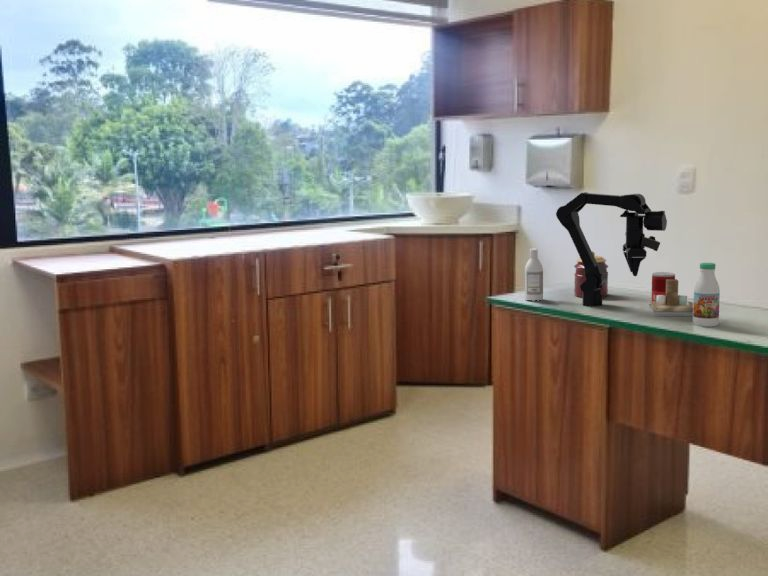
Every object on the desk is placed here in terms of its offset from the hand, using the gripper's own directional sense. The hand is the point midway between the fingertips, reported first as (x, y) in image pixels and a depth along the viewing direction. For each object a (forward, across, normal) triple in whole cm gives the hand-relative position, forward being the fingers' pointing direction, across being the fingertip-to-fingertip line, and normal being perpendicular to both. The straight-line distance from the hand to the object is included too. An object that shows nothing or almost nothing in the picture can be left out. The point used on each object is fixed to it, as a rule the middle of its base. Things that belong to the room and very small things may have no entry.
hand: (633, 274), depth 272 cm
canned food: (+13, +14, -12) cm, 23 cm away
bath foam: (+13, +19, +35) cm, 42 cm away
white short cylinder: (+10, -6, -9) cm, 14 cm away
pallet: (+11, -6, -12) cm, 17 cm away
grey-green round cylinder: (+10, -6, -15) cm, 19 cm away
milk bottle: (+13, -23, -20) cm, 33 cm away
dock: (+13, -6, -12) cm, 19 cm away
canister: (+13, +29, +13) cm, 34 cm away
